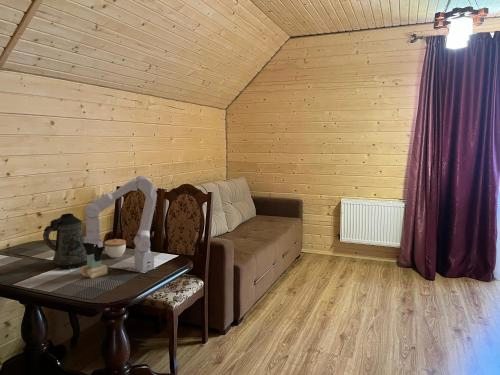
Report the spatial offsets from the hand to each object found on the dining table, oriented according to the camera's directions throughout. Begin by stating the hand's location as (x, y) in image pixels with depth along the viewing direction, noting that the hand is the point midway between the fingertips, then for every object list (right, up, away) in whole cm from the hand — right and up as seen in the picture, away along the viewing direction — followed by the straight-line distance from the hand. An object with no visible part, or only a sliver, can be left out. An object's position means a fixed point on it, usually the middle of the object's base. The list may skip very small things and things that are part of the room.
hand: (93, 259), depth 180 cm
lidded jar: (+1, -4, +28) cm, 28 cm away
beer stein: (-17, -5, +12) cm, 21 cm away
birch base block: (0, -7, +1) cm, 7 cm away
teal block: (0, -3, 0) cm, 3 cm away
